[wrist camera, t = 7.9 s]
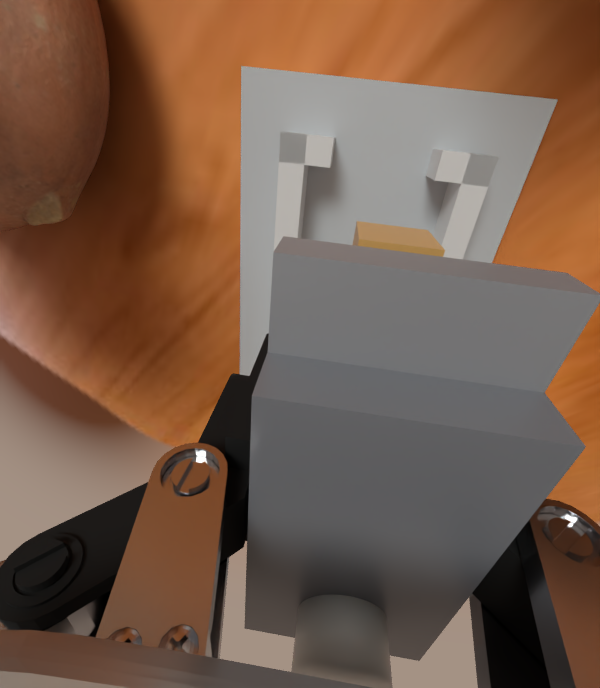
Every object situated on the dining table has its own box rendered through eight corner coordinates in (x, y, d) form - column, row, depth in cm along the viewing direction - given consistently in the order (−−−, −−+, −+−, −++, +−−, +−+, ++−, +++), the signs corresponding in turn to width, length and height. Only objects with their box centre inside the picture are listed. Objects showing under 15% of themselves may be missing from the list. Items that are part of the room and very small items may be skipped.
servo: (487, 222, 8) (785, 409, 2) (383, 500, 13) (408, 743, 8) (305, 200, 8) (225, 329, 3) (277, 483, 13) (233, 708, 8)
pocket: (549, 101, 13) (585, 95, 11) (428, 409, 22) (436, 437, 20) (245, 68, 14) (227, 57, 12) (242, 379, 22) (231, 404, 20)
